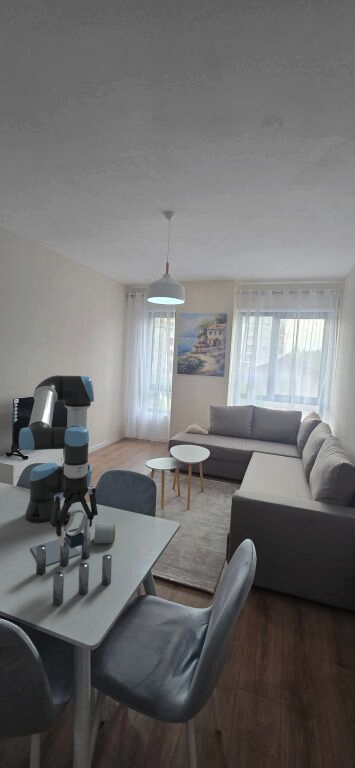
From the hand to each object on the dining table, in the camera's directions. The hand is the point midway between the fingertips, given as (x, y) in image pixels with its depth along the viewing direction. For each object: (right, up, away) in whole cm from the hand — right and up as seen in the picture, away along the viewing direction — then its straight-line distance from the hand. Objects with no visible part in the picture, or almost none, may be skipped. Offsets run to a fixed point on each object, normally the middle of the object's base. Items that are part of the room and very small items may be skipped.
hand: (74, 540), depth 113 cm
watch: (0, -1, 0) cm, 1 cm away
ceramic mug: (+5, -12, +24) cm, 27 cm away
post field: (-1, -13, +1) cm, 13 cm away
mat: (-12, -11, +15) cm, 22 cm away
